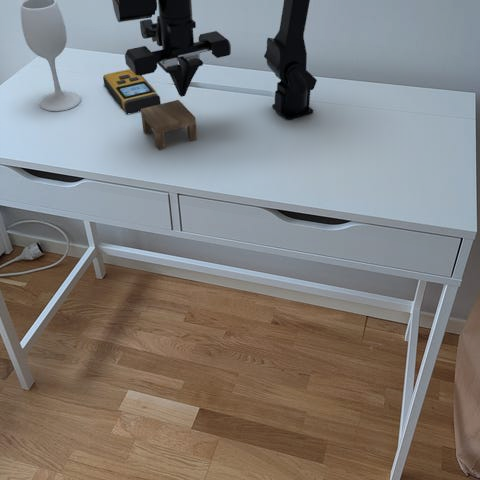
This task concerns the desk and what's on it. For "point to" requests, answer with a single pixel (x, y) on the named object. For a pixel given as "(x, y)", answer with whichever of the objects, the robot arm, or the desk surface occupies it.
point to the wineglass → (47, 46)
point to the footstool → (168, 120)
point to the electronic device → (131, 90)
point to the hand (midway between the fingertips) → (181, 95)
